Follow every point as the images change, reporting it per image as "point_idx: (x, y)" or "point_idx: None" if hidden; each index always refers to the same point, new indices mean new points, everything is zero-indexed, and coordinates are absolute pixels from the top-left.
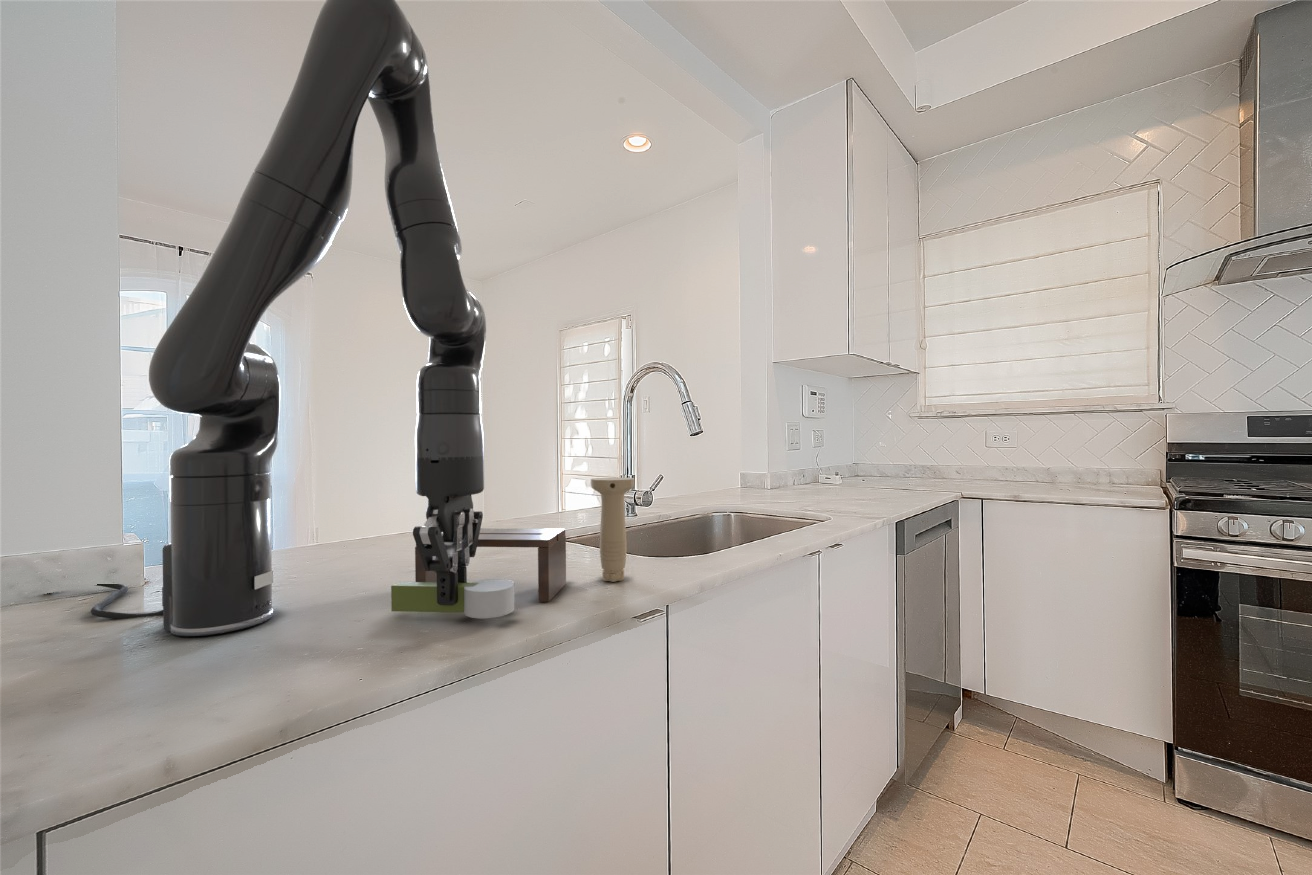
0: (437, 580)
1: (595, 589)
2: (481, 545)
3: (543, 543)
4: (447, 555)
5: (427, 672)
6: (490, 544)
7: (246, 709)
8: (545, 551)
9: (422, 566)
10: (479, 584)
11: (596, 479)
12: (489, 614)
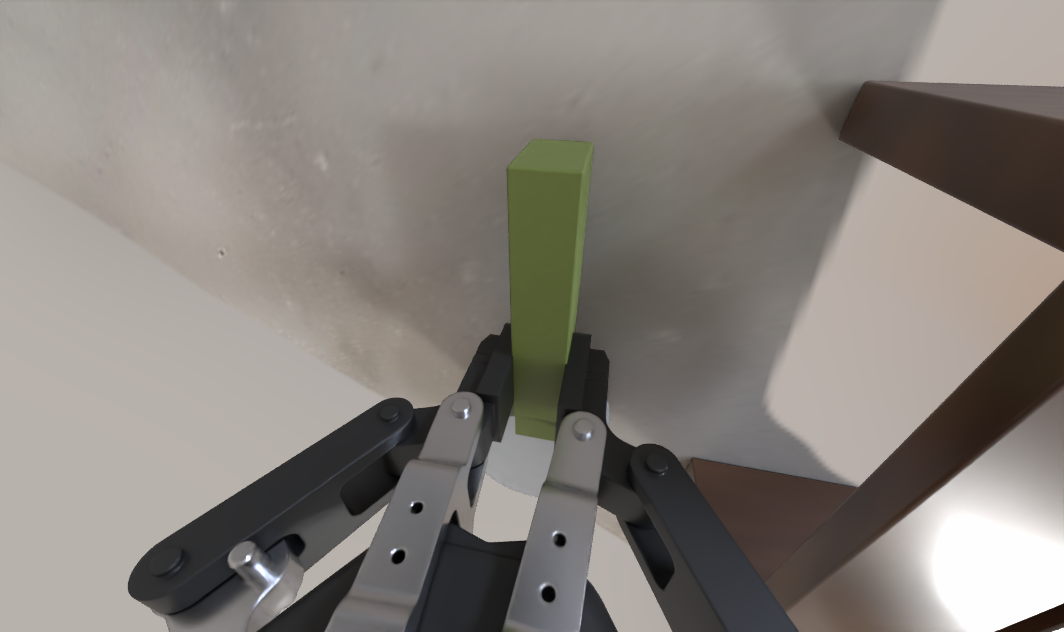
0: (461, 382)
1: None
2: (820, 535)
3: None
4: (384, 501)
5: (294, 342)
6: (797, 562)
7: (30, 110)
8: None
9: (952, 169)
10: (541, 443)
11: None
12: None
